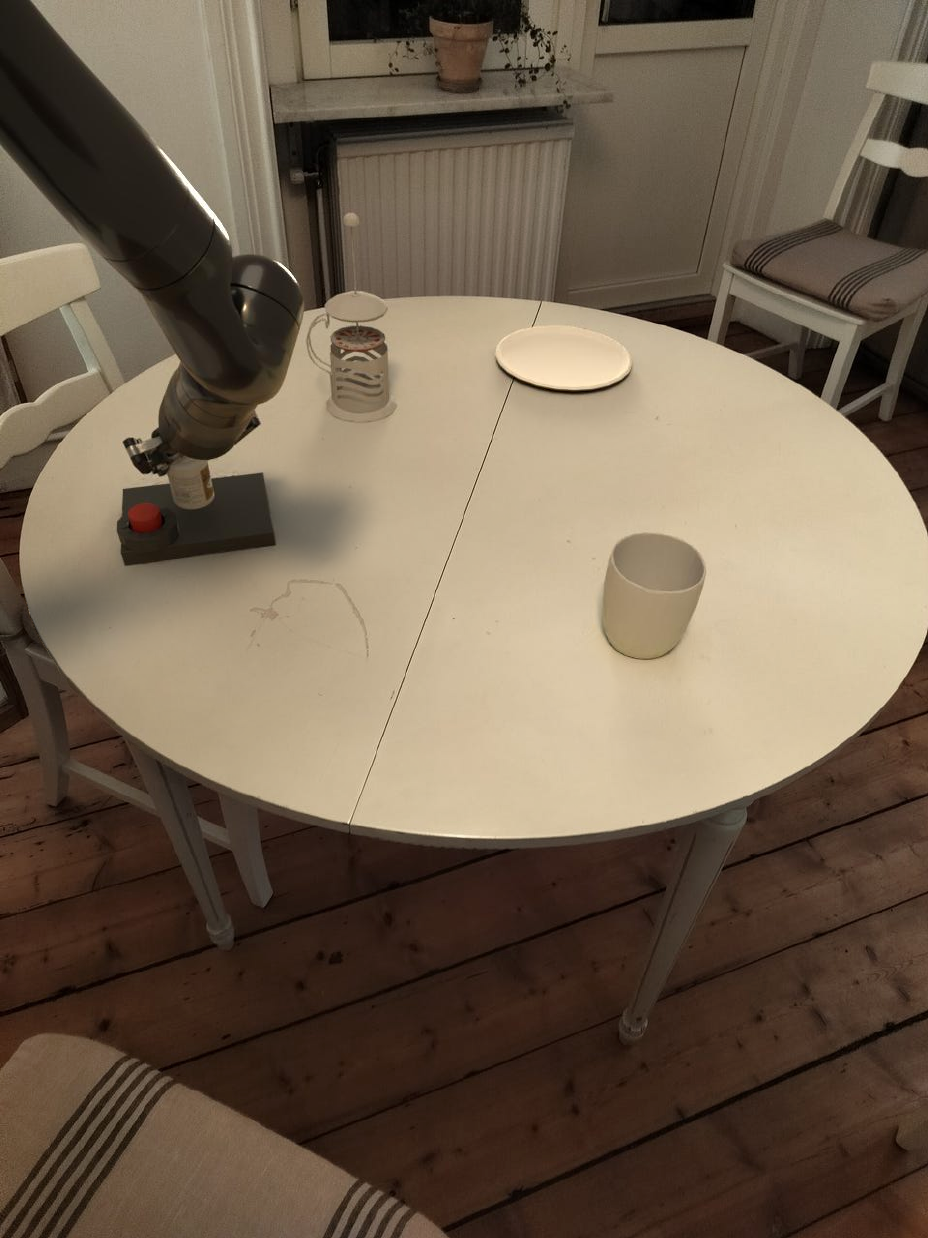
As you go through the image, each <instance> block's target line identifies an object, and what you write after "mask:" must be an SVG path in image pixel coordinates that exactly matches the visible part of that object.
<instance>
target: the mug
mask: <svg viewBox="0 0 928 1238" xmlns="http://www.w3.org/2000/svg"><path fill="white" fill-rule="evenodd" d="M706 575H707V568H706V563H705V560H704V558H703V556H702V554H701V553H700V552H699V550H698V549H697V548H696V547H695V546H694V545H692V544H690V543H689V542H687V541H686V540H684V539H682V538H680V537H678V536H674V535H670V534H666V533H661V532H647V531H646V532H645V531H643V532H635V533H631V534H628V535H626V536H624V537H621V538H620V539H618V540H617V542H616V543H615V544H614V545H613V547H612V549H611V552H610V554H609V558H608V562H607V566H606V570H605V576H604V583H603V592H602V620H603V625H604V626H603V627H604V631H605V635H606V636H607V638H608V642H609V643H610V644H611V646H612V647H613V648H614V649H615V650H617V652H619V653H621V654H623V655H625V656H627V657H631V658H635V659H650V660H651V659H655V658H659V657H662V656H664V655H665V654H667V653H668V652H670V651H671V650H672V649H673V648H674V647H675V646H676V645H678V643H679V641H680V639H681V638H682V637H683V635H684V633H685V632H686V630H687V628H688V627H689V624H690V622H691V620H692V617H693V615H694V614H695V611H696V610H697V609H696V608H697V606H698V603H699V600H700V597H701V594H702V591H703V588H704V584H705V581H706Z"/></svg>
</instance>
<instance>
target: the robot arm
mask: <svg viewBox="0 0 928 1238" xmlns="http://www.w3.org/2000/svg"><path fill="white" fill-rule="evenodd" d="M0 147H1V148H2V149H3V150H4V151H5V152H6V153H7V155H8V156H9V157H10V158H11V159H12V161H13V162H14V163H15V164H16V166H18V167H19V169H20V170H21V171H22V172H23V173H24V175H25V176H26V177H27V178H28V179H29V180H30V181H31V183H32V184H33V185H34V186H35V187H36V189H37V190H38V191H39V192H40V194H42V195H43V196H44V197H45V199H46V200H47V201H48V202H49V203H50V204H51V206H53V208H54V209H55V210H56V211H57V212H58V213H59V214H60V215H61V217H62V218H63V219H65V220H66V222H67V223H68V224H69V225H70V226H71V227H72V228H73V230H75V231H76V232H77V233H78V234H79V235H80V236H81V237H82V238H83V240H85V242H87V244H88V245H89V246H91V248H93V250H94V251H95V252H96V253H97V254H99V256H101V258H103V259H104V260H105V262H106V263H108V264H109V265H110V266H111V267H112V268H113V269H114V270H115V271H116V272H117V273H118V274H119V275H120V276H121V277H122V278H123V279H124V280H125V281H126V282H127V283H129V284H130V285H131V286H132V287H133V288H134V289H135V290H136V291H137V292H138V293H139V294H140V295H141V296H142V298H143V299H144V302H145V304H146V306H147V307H148V309H149V311H150V313H151V314H152V316H153V318H154V320H155V321H156V323H157V324H158V326H159V328H160V330H161V331H162V333H163V334H164V336H165V338H166V339H167V341H168V344H169V345H170V346H171V348H172V350H173V352H174V353H175V355H176V357H177V358H178V361H180V362H179V364H178V367H177V368H176V369H175V370H174V372H173V373H172V375H171V377H170V379H169V381H168V384H167V386H166V388H165V389H166V390H165V393H164V395H163V397H162V400H161V403H160V405H159V408H158V416H157V417H158V419H157V420H158V421H157V422H158V424H157V425H158V427H156V428H155V429H153V431H152V432H151V435H150V438H148V439H146V440H144V441H143V438H141V437H139V438H136V437H127V438H125V439H124V440H123V441H122V444H123V446H124V449H125V450H126V452H127V455H128V457H129V459H130V461H131V462H132V465H133V467H134V468H136V469H137V471H139V472H140V474H142V475H149V474H151V473H152V475H157V476H158V477H159V478H160V477H164V476H166V475H167V472H168V470H169V468H170V466H172V465H176V464H180V463H181V462H182V461H184V460H185V459H186V458H187V457H189V458H192V459H197V460H207V461H208V462H209V461H212V460H215V459H218V458H221V457H223V456H225V455H226V454H227V453H229V452H230V451H231V450H232V449H233V448H234V446H236V445H237V444H239V443H240V442H241V441H242V440H244V438H246V437H247V436H249V434H250V433H252V432H253V431H254V430H256V429H257V428H259V426H260V425H262V423H261V421H260V419H259V416H258V414H257V412H256V409H257V408H258V406H259V405H262V404H265V403H267V402H269V401H270V400H272V399H273V398H274V397H276V395H277V394H278V393H279V392H280V391H281V389H282V387H283V385H284V382H285V380H286V377H287V373H288V370H289V367H290V364H291V361H292V357H293V353H294V349H295V346H296V343H297V339H298V335H299V332H300V329H301V326H302V323H303V319H304V313H305V300H304V295H303V292H302V289H301V287H300V285H299V282H298V281H297V278H295V276H294V275H293V274H292V273H291V271H290V270H289V269H288V268H287V267H285V266H284V265H283V264H282V263H281V262H279V261H277V260H275V259H274V258H271V257H269V256H266V255H263V254H257V253H243V254H237V255H235V256H233V246H232V242H231V238H230V235H229V234H228V231H227V230H226V228H225V226H224V224H223V223H222V222H221V220H220V219H219V218H218V216H217V215H216V213H215V212H214V211H213V210H212V208H211V207H210V206H209V205H208V204H207V202H206V201H205V200H204V199H203V197H202V196H201V195H200V193H199V192H198V191H197V190H196V189H195V188H194V186H193V185H192V184H191V183H190V181H189V180H188V179H187V178H186V177H185V175H184V174H183V172H182V171H181V170H180V169H179V167H178V166H177V165H176V164H175V163H174V161H173V160H172V159H171V158H170V157H169V155H167V153H166V152H165V150H163V148H162V147H161V146H160V145H159V144H158V143H157V141H156V140H155V139H154V138H153V137H152V135H150V133H148V131H147V130H146V129H145V128H144V127H143V126H142V125H141V123H140V122H139V121H138V120H137V119H136V117H134V116H133V115H132V114H131V113H130V111H128V109H127V108H126V106H124V105H123V104H122V102H120V101H119V100H118V98H117V97H116V96H115V95H114V94H113V93H112V92H111V91H110V90H109V89H108V87H107V86H106V85H105V84H104V83H103V82H102V80H100V79H99V78H98V76H97V75H95V73H94V72H93V71H92V69H90V67H88V65H86V63H85V62H84V61H83V59H81V57H80V56H78V54H77V53H76V52H75V51H74V50H73V48H72V47H71V46H70V45H69V44H68V43H67V42H66V41H65V39H64V38H63V37H62V36H61V35H60V33H59V32H58V31H57V30H56V29H55V28H54V27H53V26H52V24H51V23H50V22H49V21H48V19H46V17H45V16H44V14H43V13H42V12H41V10H39V8H38V7H37V6H36V5H35V4H34V2H33V1H32V0H0Z"/></svg>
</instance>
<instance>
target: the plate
mask: <svg viewBox="0 0 928 1238" xmlns="http://www.w3.org/2000/svg"><path fill="white" fill-rule="evenodd" d="M494 358H495V359H496V361H497V363H498V366H499V367H501V369H503V371H505V372H506V373H507V375H509V376H511V377H513V378H515V379H517V380H518V381H520V382H523V383H525V384H528V385H531V386H535V387H538V388H542V389H547V390H552V391H562V392H584V391H585V392H586V391H594V390H599V389H604V388H609V387H610V386H613V385H615V384H617V383H620V382H621V381H622V380H624V378H626V377H627V376H628V375H629V374H630V372H631V369H632V367H633V361H632V356H631V355H630V353H629V352H628V350H627V349H626V347H625V346H623V345H622V344H621V343H619V342H618V341H616V340H615V339H613V338H611V337H610V336H607V335H605V334H603V333H600V332H597V331H594V330H591V329H586V328H581V327H576V326H569V325H556V324H555V325H538V326H532V327H528V328H526V327H525V328H522V329H519V330H516V331H514V332H511V333H509V334H508V335H506V336H505V337H503V338H502V339H501V340H500V341H499V342H498V344H497V345H496V347H495V354H494Z"/></svg>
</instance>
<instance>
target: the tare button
mask: <svg viewBox="0 0 928 1238" xmlns="http://www.w3.org/2000/svg"><path fill="white" fill-rule="evenodd" d="M128 517H129V520H130V524H131V527H132V529H133V531H135V532H137V533H149V532H153V531H155V530H157V529H159V528H161V526H162V524H163V521H162V517H161V514H160V510H159V508H158V506H156V505H154V504H151V503H143V504H139V505H136V506H134V507H132V508H131V509H130V510H129V512H128Z"/></svg>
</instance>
